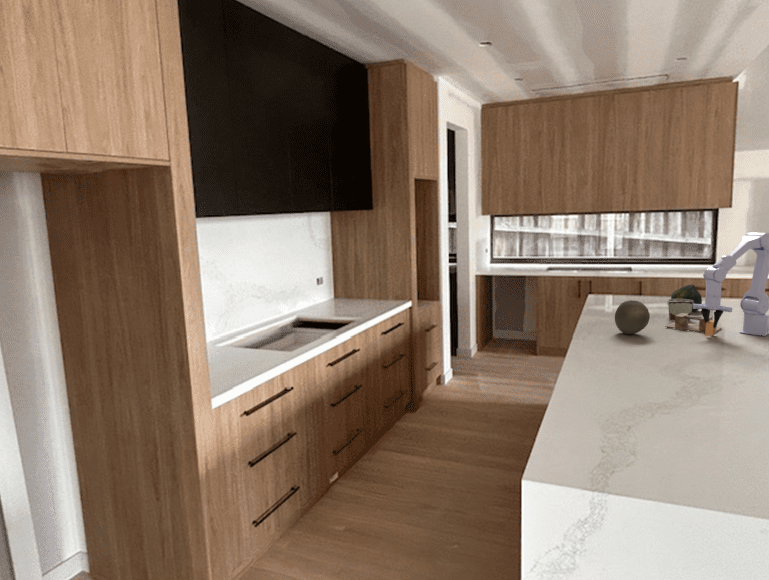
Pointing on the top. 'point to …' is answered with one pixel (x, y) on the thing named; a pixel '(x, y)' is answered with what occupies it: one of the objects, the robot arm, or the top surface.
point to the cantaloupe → (631, 317)
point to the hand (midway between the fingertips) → (711, 326)
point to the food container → (679, 307)
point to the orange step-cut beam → (710, 328)
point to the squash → (688, 294)
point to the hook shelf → (682, 323)
